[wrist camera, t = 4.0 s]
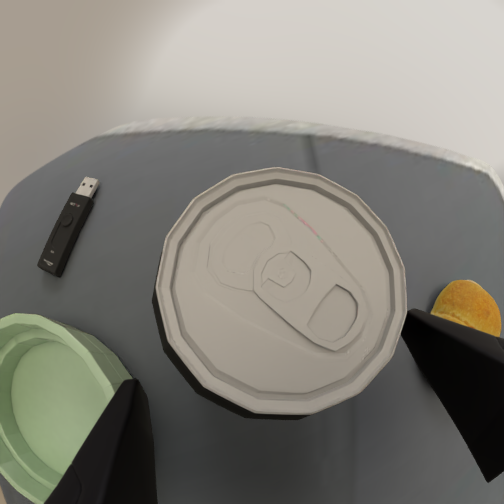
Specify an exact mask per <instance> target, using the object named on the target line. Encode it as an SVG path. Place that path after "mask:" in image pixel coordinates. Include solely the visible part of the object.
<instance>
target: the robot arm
mask: <svg viewBox="0 0 504 504" xmlns="http://www.w3.org/2000/svg"><path fill="white" fill-rule="evenodd" d="M401 336H402V338H403V340H404V341H405V343H406V345H407V347H408V349H409V350H410V352H411V354H412V356H413V358H414V360H415V362H416V363H417V365H418V367H419V368H420V370H421V372H422V373H423V375H424V376H425V378H426V379H427V381H428V382H429V384H430V385H431V387H432V388H433V390H434V391H435V393H436V395H437V396H438V398H439V399H440V401H441V402H442V404H443V406H444V407H445V409H446V410H447V412H448V414H449V415H450V417H451V419H452V420H453V422H454V424H455V425H456V427H457V429H458V430H459V432H460V434H461V435H462V437H463V439H464V441H465V442H466V444H467V446H468V448H469V450H470V451H471V453H472V455H473V457H474V459H475V461H476V462H477V464H478V466H479V468H480V470H481V472H482V474H483V476H484V478H485V480H486V481H487V482H488V483H489V482H490V481H492V480H493V479H494V478H496V477H497V476H498V475H500V474H501V473H502V472H503V471H504V339H503V338H500V337H497V336H496V337H495V336H494V335H491V334H488V333H485V332H482V331H479V330H476V329H473V328H471V327H468V326H465V325H462V324H459V323H456V322H453V321H450V320H447V319H444V318H441V317H439V316H436V315H433V314H430V313H427V312H424V311H421V310H418V309H411V310H409V311H407V315H406V318H405V321H404V324H403V328H402V331H401ZM43 504H158V502H157V490H156V477H155V458H154V442H153V435H152V428H151V421H150V413H149V405H148V398H147V395H146V393H145V392H144V390H143V388H142V386H141V384H140V382H139V381H138V379H135V378H134V379H125V380H124V381H123V382H122V383H121V385H120V386H119V388H118V389H117V391H116V393H115V394H114V396H113V397H112V399H111V400H110V402H109V403H108V405H107V406H106V408H105V409H104V411H103V413H102V414H101V416H100V417H99V419H98V420H97V422H96V423H95V425H94V427H93V428H92V430H91V431H90V433H89V435H88V436H87V438H86V439H85V441H84V443H83V444H82V446H81V447H80V449H79V451H78V452H77V454H76V455H75V457H74V459H73V460H72V464H70V465H69V467H68V468H67V470H66V472H65V473H64V475H63V477H62V478H61V480H60V481H59V483H58V484H57V486H56V487H55V489H54V490H53V491H52V493H51V494H50V496H49V497H48V498H47V499H46V501H45V502H44V503H43Z"/></svg>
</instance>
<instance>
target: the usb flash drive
mask: <svg viewBox="0 0 504 504" xmlns="http://www.w3.org/2000/svg"><path fill="white" fill-rule="evenodd" d="M99 183H100V182H99V181H98V180H97V179H93V178H88V177H85V178H84V180H83V182H82V183H81V185H80V187H79V188H78V190H77V192H76V193H72V194H71V195H70V197H69V199H68V201H67V203H66V204H65V206H64V208H63V210H62V212H61V214H60V216H59V218H58V220H57V222H56V224H55V226H54V228H53V230H52V232H51V234H50V237H49V239H48V241H47V243H46V245H45V248H44V250H43V252H42V255H41V257H40V259H39V262H38V264H37V266H38V267H39V268H41V269H43V270H45V271H47V272H49V273H51V274H53V275H55V276H58V277H60V276H61V273H62V270H63V268H64V266H65V263H66V261H67V258H68V256H69V254H70V251H71V249H72V247H73V244H74V242H75V240H76V238H77V236H78V234H79V231H80V229H81V227H82V225H83V223H84V221H85V219H86V217H87V215H88V213H89V211H90V209H91V207H92V205H93V201H92V199H91V198H92V196H93V194H94V192H95V190H96V189H97V187H98V185H99Z"/></svg>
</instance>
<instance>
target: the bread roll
mask: <svg viewBox="0 0 504 504" xmlns="http://www.w3.org/2000/svg"><path fill="white" fill-rule="evenodd" d="M430 314H433V315H436V316H439V317H441V318H444V319H447V320H450V321H453V322H456V323H459V324H462V325H465V326H468V327H471V328H473V329H476V330H479V331H482V332H485V333H488V334H491V335H494V336H495V337H496V336H497V337H499V336H500V332H501V318H500V311H499V308H498V306H497V304H496V303H495V301H494V299H493V298H492V297H491V296H490V295H489V294H488V293H487V292H486V291H485V290H484V289H482V288H481V286H480V285H479V284H477V283H476V282H474V281H472V280H457V281H453V282H451V283H450V284H448V285H447V286H446V287H445V288H444V289H443V290H442V291H441V293H440V294H439V296H438V297H437V299H436V301H435V304H434V306H433V309H432V311H431V313H430Z"/></svg>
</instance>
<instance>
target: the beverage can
mask: <svg viewBox="0 0 504 504" xmlns="http://www.w3.org/2000/svg"><path fill="white" fill-rule="evenodd" d="M152 304H153V308H154V313H155V317H156V322H157V326H158V330H159V334H160V338H161V342H162V346H163V350H164V352H165V353H166V355H167V356H168V358H169V359H170V360H171V362H172V363H173V364H174V365H175V367H176V368H177V369H178V371H179V372H180V373H181V374H182V376H183V377H184V378H185V380H186V381H187V382H188V383H189V385H190V386H191V387H192V388H193V389H194V391H195V392H196V393H197V394H199V395H201V396H202V397H204V398H206V399H208V400H210V401H212V402H214V403H216V404H217V405H219V406H221V407H223V408H225V409H227V410H229V411H231V412H233V413H235V414H237V415H240V416H242V417H244V418H253V419H272V420H299V419H302V418H304V417H307V416H310V415H312V414H315V413H317V412H319V411H322V410H324V409H327V408H329V407H331V406H334V405H336V404H338V403H340V402H343V401H345V400H347V399H349V398H351V397H353V396H355V395H357V394H359V393H361V392H362V391H363V390H364V388H365V387H366V386H367V385H368V384H369V383H370V382H371V381H372V380H373V379H374V378H375V376H376V375H377V374H378V373H379V372H380V371H381V370H382V368H383V367H384V366H385V365H386V364H387V363H388V361H389V360H390V359H391V358H392V357H393V354H394V351H395V348H396V346H397V343H398V340H399V337H400V334H401V331H402V328H403V324H404V321H405V318H406V315H407V296H406V280H405V268H404V265H403V263H402V260H401V258H400V255H399V253H398V251H397V249H396V246H395V244H394V242H393V240H392V237H391V235H390V233H389V231H388V229H387V227H386V226H385V225H384V223H383V222H382V221H381V220H380V219H379V218H378V217H377V216H376V215H375V213H374V212H373V211H372V210H371V209H370V208H369V207H368V206H367V205H366V204H365V203H364V202H363V201H362V200H361V199H360V198H359V196H358V195H356V194H354V193H353V192H351V191H349V190H347V189H345V188H344V187H342V186H340V185H338V184H336V183H334V182H333V181H331V180H329V179H327V178H325V177H323V176H321V175H319V174H315V173H309V172H304V171H298V170H292V169H286V168H280V167H273V168H267V169H261V170H255V171H249V172H244V173H238V174H233V175H231V176H229V177H228V178H226V179H224V180H223V181H221V182H219V183H218V184H216V185H214V186H213V187H211V188H209V189H208V190H206V191H205V192H203V193H201V194H200V195H198V196H196V197H195V198H194V199H193V200H192V201H191V203H190V204H189V205H188V207H187V208H186V209H185V211H184V212H183V214H182V215H181V216H180V218H179V219H178V220H177V222H176V223H175V225H174V226H173V227H172V229H171V230H170V232H169V233H168V235H167V236H166V239H165V243H164V248H163V251H162V252H161V257H160V262H159V266H158V271H157V276H156V281H155V287H154V292H153V298H152Z"/></svg>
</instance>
